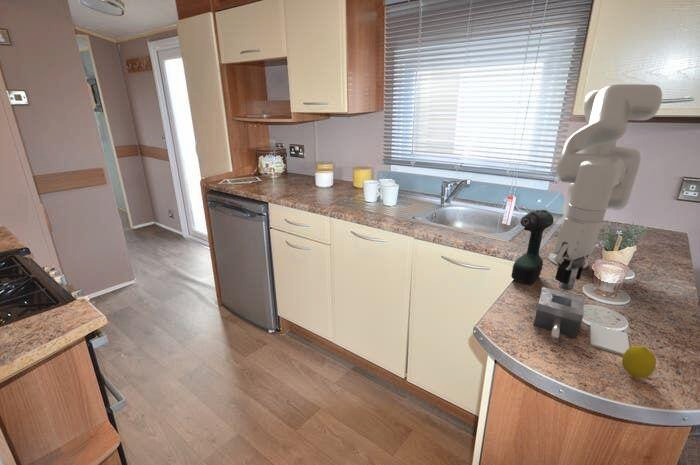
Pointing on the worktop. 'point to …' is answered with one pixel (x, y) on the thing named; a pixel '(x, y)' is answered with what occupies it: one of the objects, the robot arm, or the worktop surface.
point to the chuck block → (559, 313)
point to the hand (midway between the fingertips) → (567, 278)
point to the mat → (608, 339)
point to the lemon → (639, 361)
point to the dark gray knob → (572, 273)
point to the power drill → (532, 247)
